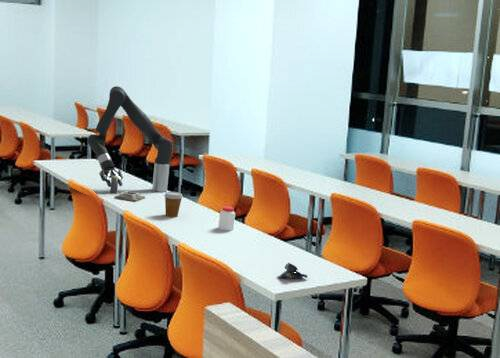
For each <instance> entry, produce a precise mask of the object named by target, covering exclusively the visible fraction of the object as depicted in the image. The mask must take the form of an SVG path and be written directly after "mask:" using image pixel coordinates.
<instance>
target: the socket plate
mask: <svg viewBox="0 0 500 358" xmlns="http://www.w3.org/2000/svg"><path fill="white" fill-rule="evenodd" d="M115 198H118V199H117V200H121V199H122V200H123V201H127V202H128V201H130V202H135V203H137V202H139V201H141V200H143V199H146V197H145V196H143V195H141V193H140V192H135V191H127V190H125V191H122V192H119V194H117V195H115V196H114V199H115ZM122 200H121V201H122Z"/></svg>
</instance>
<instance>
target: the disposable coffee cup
mask: <svg viewBox="0 0 500 358" xmlns="http://www.w3.org/2000/svg"><path fill="white" fill-rule="evenodd" d="M183 197H184V196H183V194H182V193H181V192H177V191H166V192H165V194H164V199H165V200H164V202H165V203H164V204H165V216H166V217H169V218H176V217H178V216H179V215H178V214H179V211H180V207H181V203H182V199H183Z"/></svg>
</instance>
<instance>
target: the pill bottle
mask: <svg viewBox="0 0 500 358" xmlns="http://www.w3.org/2000/svg"><path fill="white" fill-rule="evenodd" d="M235 218H236V212H235V211H234V207H233V206H228V205H227V206H226V205H224V206H222V209H221V210H220V212H219V220H218V225H217V226H218V229H219V230H221V231H226V230H231V231H233V230H234V228H235Z"/></svg>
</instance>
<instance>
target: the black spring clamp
mask: <svg viewBox="0 0 500 358" xmlns="http://www.w3.org/2000/svg"><path fill="white" fill-rule="evenodd" d="M284 269H285V271H283V272H282V273H281V274H280V275H278V276H277V278H278V279H280V278H284V277H285V279H297V278H298V279H299V278H308V274H304V273H301V272H299V269H298V267H297V266H296V265H295V264H292V263H290V262H288V263H286V264H285V266H284ZM294 272H296V273H294Z"/></svg>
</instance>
